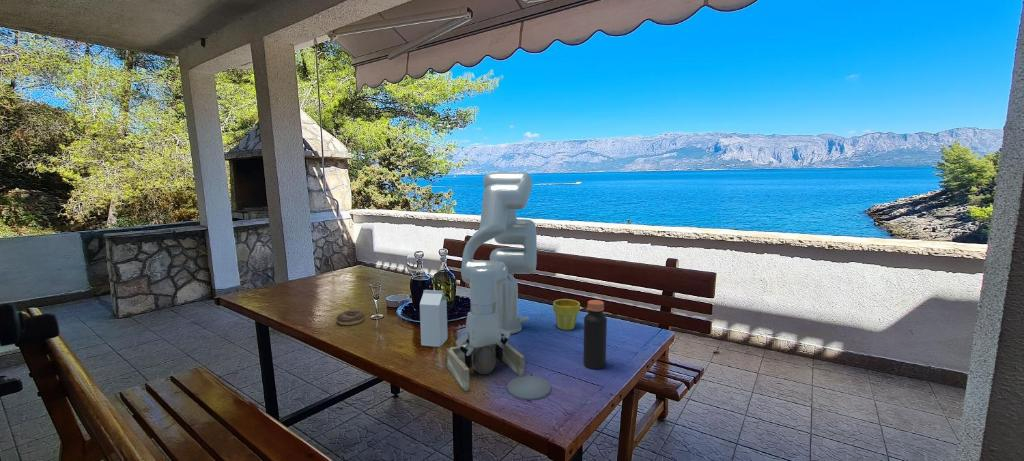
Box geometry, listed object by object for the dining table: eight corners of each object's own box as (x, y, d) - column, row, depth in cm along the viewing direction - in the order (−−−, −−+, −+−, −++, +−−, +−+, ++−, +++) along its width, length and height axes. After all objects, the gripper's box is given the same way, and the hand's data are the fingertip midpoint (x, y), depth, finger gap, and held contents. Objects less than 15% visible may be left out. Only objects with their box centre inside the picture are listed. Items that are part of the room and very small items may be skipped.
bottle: (601, 371, 121) (602, 306, 119) (579, 366, 125) (580, 303, 122) (608, 363, 127) (610, 301, 124) (588, 358, 131) (589, 297, 128)
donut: (354, 316, 173) (354, 306, 172) (370, 321, 166) (369, 311, 166) (331, 323, 164) (330, 313, 164) (346, 328, 158) (345, 318, 157)
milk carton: (440, 347, 139) (438, 293, 137) (420, 345, 141) (419, 292, 138) (447, 339, 146) (446, 288, 144) (429, 338, 148) (427, 287, 145)
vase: (472, 366, 125) (472, 339, 124) (495, 365, 126) (494, 338, 125) (472, 377, 118) (472, 348, 117) (496, 376, 119) (495, 347, 118)
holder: (500, 355, 133) (500, 337, 132) (524, 376, 119) (524, 356, 118) (446, 367, 125) (446, 348, 124) (465, 391, 110) (464, 370, 110)
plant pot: (585, 328, 157) (585, 303, 156) (565, 333, 151) (565, 308, 150) (567, 320, 165) (567, 297, 164) (547, 325, 160) (547, 301, 158)
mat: (536, 374, 120) (536, 372, 120) (559, 392, 109) (559, 390, 109) (500, 383, 114) (500, 381, 114) (520, 404, 104) (520, 402, 104)
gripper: (504, 300, 127) (504, 352, 129) (451, 308, 119) (452, 364, 121) (515, 306, 120) (515, 361, 122) (459, 316, 112) (461, 374, 114)
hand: (484, 362), depth 122 cm, fingers open, 9 cm apart
